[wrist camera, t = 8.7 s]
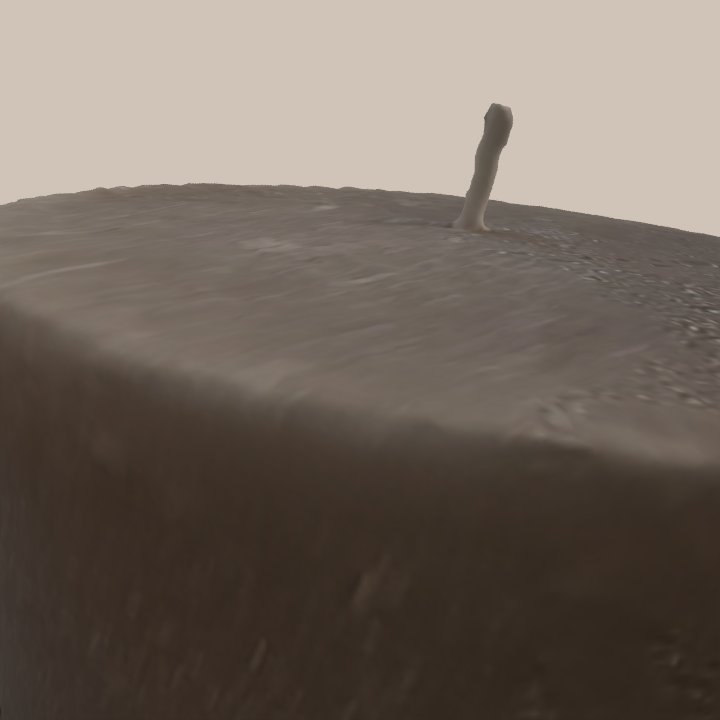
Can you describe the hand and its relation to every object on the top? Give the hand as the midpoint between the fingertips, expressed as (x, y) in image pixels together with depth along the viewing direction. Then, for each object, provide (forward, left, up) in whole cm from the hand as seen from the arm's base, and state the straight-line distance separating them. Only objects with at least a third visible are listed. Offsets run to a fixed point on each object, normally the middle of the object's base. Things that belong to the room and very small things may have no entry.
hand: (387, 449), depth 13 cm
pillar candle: (-2, +4, -9) cm, 10 cm away
